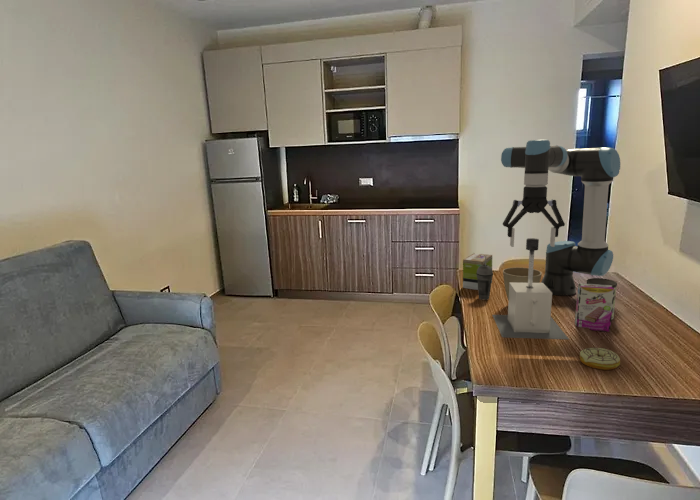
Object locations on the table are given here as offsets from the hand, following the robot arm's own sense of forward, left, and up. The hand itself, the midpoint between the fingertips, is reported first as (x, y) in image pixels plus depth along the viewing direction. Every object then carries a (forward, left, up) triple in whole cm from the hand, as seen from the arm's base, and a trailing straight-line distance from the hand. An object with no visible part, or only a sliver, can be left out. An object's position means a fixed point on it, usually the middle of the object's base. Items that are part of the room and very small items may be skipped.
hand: (531, 246), depth 153 cm
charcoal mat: (0, 0, -31) cm, 31 cm away
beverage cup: (+11, -34, -32) cm, 48 cm away
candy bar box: (-23, -2, -32) cm, 39 cm away
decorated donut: (-15, +26, -32) cm, 44 cm away
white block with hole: (0, +1, -30) cm, 30 cm away
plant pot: (-2, -22, -32) cm, 39 cm away
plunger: (0, 0, -21) cm, 21 cm away
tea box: (+11, -54, -32) cm, 63 cm away
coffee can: (-30, -15, -32) cm, 46 cm away
